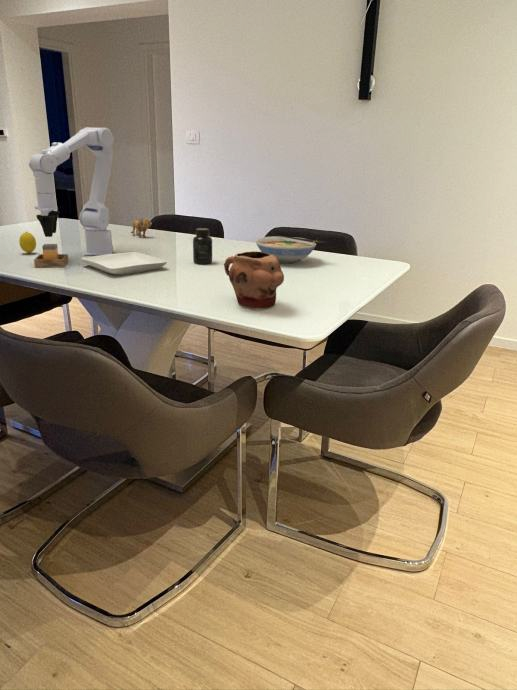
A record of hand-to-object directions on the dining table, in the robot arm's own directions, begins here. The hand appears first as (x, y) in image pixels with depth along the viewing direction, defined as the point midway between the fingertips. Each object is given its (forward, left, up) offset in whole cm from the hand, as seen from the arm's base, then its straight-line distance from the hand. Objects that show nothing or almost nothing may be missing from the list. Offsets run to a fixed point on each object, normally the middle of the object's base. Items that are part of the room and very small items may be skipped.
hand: (50, 234), depth 173 cm
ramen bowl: (-82, +1, -10) cm, 83 cm away
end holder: (0, +4, -9) cm, 10 cm away
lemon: (+11, -14, -10) cm, 20 cm away
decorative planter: (-59, +55, -10) cm, 81 cm away
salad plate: (-24, +10, -10) cm, 28 cm away
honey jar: (0, +4, -9) cm, 10 cm away
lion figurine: (-29, -53, -10) cm, 61 cm away
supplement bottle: (-51, +3, -10) cm, 52 cm away
